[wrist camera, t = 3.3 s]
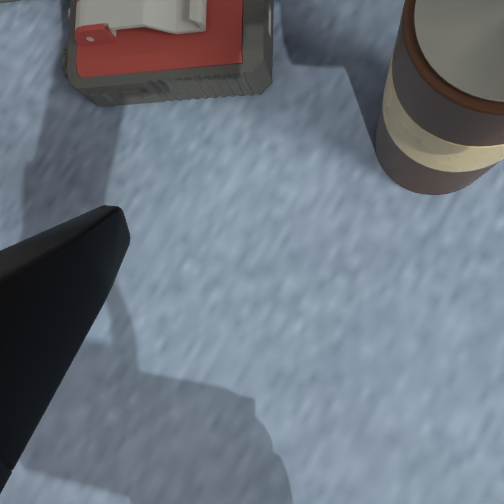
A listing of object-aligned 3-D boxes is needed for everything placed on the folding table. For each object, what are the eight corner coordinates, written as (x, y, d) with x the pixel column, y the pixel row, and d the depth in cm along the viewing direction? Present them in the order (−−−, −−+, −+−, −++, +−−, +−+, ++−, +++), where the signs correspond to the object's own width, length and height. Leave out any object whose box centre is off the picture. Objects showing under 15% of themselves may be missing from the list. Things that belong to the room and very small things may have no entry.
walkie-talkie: (295, -49, 24) (2, -7, 29) (285, -121, 20) (-58, -58, 24) (292, 97, 24) (-7, 118, 28) (282, 55, 19) (-70, 88, 24)
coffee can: (500, 82, 21) (649, -109, 11) (494, 198, 21) (643, 113, 11) (378, 83, 23) (408, -86, 12) (370, 193, 22) (395, 113, 12)
